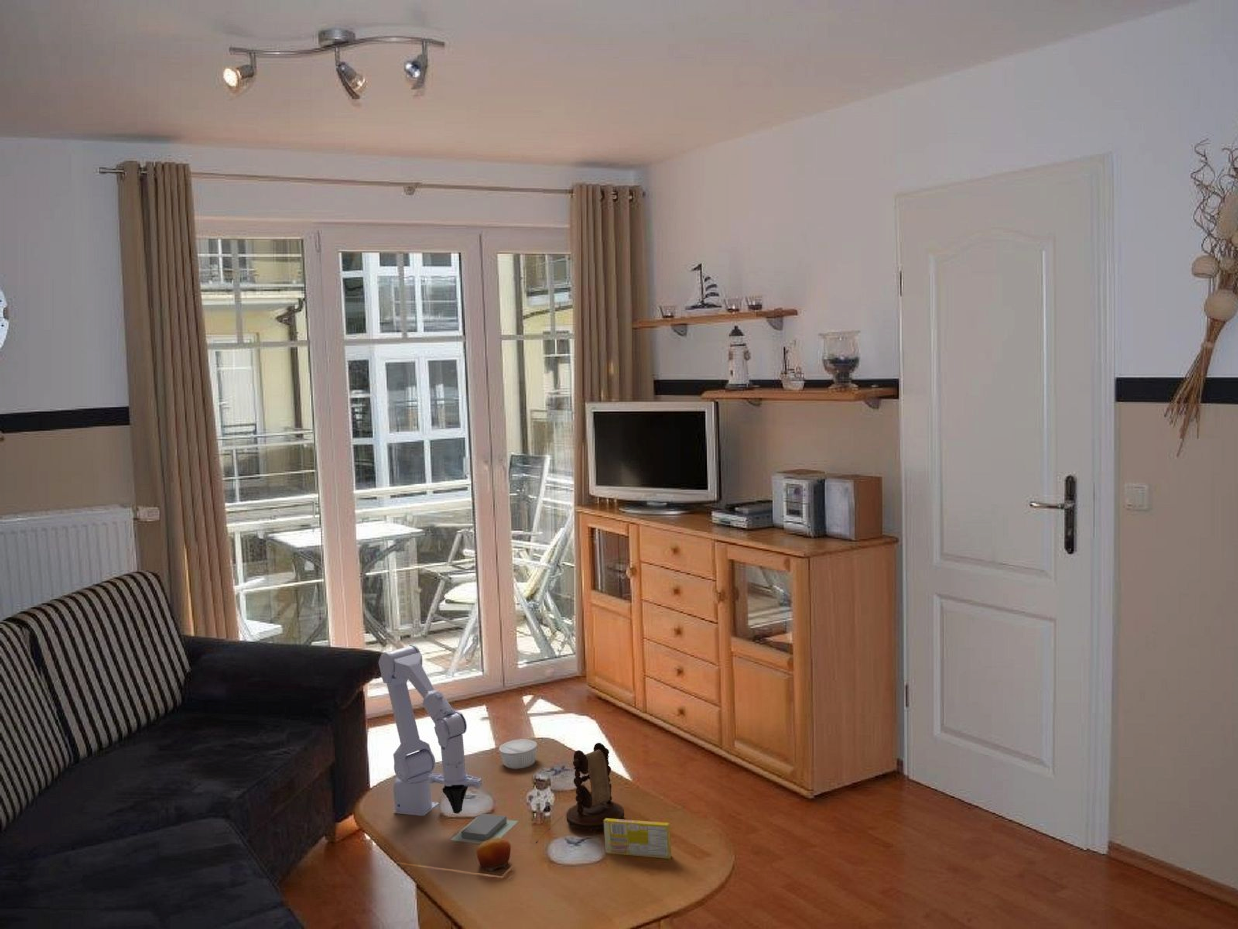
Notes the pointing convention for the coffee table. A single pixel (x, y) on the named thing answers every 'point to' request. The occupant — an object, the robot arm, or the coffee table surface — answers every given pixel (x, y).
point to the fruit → (494, 853)
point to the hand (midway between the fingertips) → (457, 812)
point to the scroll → (593, 791)
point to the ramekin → (518, 753)
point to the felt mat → (497, 834)
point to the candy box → (637, 838)
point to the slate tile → (484, 827)
